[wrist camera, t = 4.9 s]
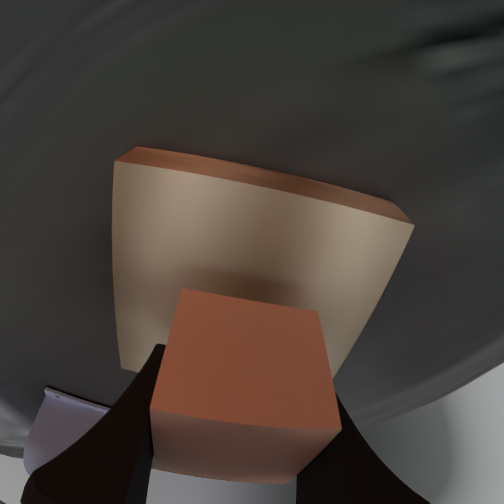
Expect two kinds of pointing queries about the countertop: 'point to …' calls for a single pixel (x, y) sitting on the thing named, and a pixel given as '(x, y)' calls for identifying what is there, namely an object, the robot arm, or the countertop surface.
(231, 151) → the countertop surface
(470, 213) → the countertop surface
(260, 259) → the pedestal
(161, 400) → the cube
